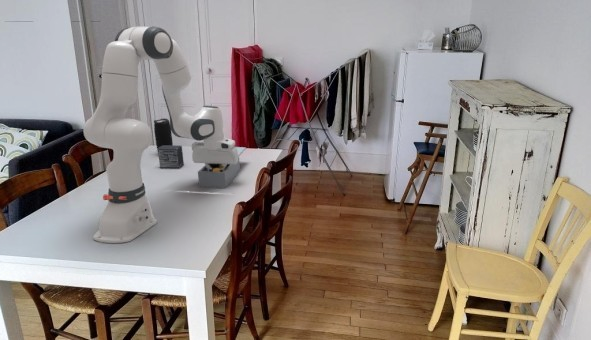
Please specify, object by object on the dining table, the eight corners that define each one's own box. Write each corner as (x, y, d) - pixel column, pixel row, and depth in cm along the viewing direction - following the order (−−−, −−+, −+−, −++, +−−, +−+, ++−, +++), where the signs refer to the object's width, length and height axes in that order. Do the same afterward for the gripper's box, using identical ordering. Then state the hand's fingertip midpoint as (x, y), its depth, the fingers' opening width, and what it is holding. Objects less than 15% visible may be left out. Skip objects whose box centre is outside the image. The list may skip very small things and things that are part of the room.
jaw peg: (222, 180, 185) (221, 168, 183) (220, 183, 182) (219, 171, 180) (215, 180, 186) (214, 167, 184) (212, 183, 183) (211, 170, 181)
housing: (226, 190, 177) (224, 173, 175) (199, 189, 179) (197, 171, 177) (240, 172, 198) (239, 156, 195) (216, 171, 200) (214, 156, 197)
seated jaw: (226, 176, 190) (225, 164, 188) (218, 176, 191) (217, 164, 189) (228, 173, 194) (227, 161, 192) (221, 173, 194) (220, 161, 192)
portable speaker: (168, 151, 232) (163, 117, 226) (177, 154, 226) (173, 119, 220) (154, 154, 226) (149, 120, 220) (163, 158, 221) (158, 122, 214)
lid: (232, 163, 186) (232, 155, 184) (207, 162, 188) (206, 154, 186) (245, 148, 206) (245, 141, 205) (222, 148, 208) (222, 140, 207)
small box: (184, 164, 211) (182, 145, 207) (180, 168, 205) (177, 148, 201) (164, 164, 212) (162, 144, 208) (159, 168, 206) (156, 148, 202)
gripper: (188, 143, 176) (191, 174, 181) (234, 145, 173) (236, 175, 178) (193, 139, 182) (197, 169, 187) (238, 141, 179) (240, 170, 184)
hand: (216, 172), depth 182 cm, fingers open, 4 cm apart
